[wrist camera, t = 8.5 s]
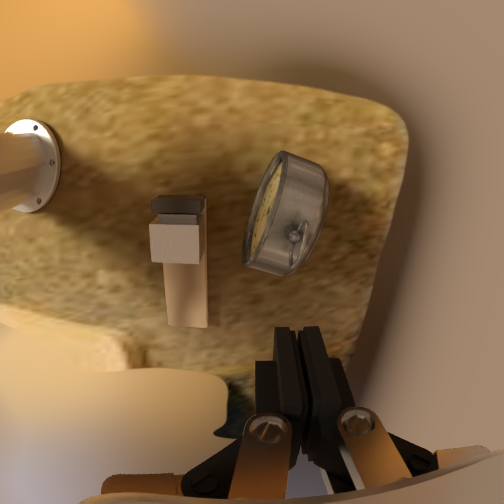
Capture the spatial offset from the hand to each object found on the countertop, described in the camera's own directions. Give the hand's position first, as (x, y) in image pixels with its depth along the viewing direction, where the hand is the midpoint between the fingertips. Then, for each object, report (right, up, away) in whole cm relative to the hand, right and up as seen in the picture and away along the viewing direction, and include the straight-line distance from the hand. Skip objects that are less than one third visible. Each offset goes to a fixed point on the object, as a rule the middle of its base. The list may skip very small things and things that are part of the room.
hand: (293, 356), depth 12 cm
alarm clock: (+1, +10, +23) cm, 25 cm away
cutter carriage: (-9, +6, +22) cm, 25 cm away
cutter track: (-9, +3, +25) cm, 27 cm away
